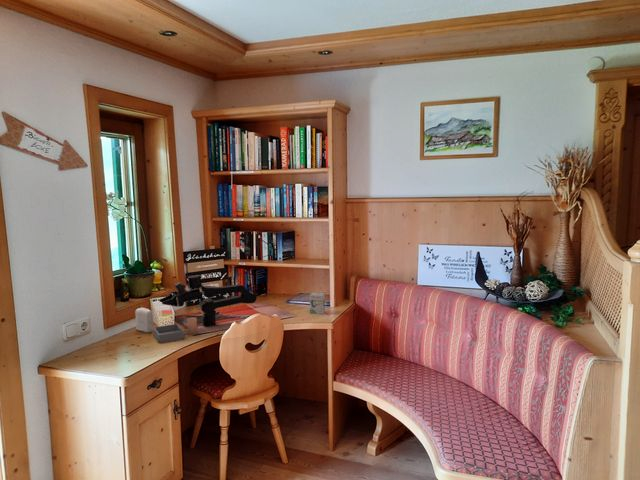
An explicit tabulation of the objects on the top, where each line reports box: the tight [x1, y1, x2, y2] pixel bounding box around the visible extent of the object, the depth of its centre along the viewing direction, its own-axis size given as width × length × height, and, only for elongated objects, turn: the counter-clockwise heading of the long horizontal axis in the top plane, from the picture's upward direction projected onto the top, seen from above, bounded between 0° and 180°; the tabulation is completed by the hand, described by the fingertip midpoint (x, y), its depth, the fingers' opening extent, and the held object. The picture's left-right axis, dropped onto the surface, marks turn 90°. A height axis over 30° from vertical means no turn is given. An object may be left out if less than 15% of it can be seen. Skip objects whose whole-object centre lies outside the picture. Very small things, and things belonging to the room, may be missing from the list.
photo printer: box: [134, 307, 154, 333], centre depth 249 cm, size 10×4×12 cm, turn 60°
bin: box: [153, 323, 185, 344], centre depth 239 cm, size 12×14×4 cm
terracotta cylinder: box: [186, 316, 198, 336], centre depth 244 cm, size 5×5×8 cm
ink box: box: [309, 292, 326, 315], centre depth 280 cm, size 9×5×12 cm, turn 73°
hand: (160, 302), depth 245 cm, fingers open, 9 cm apart
